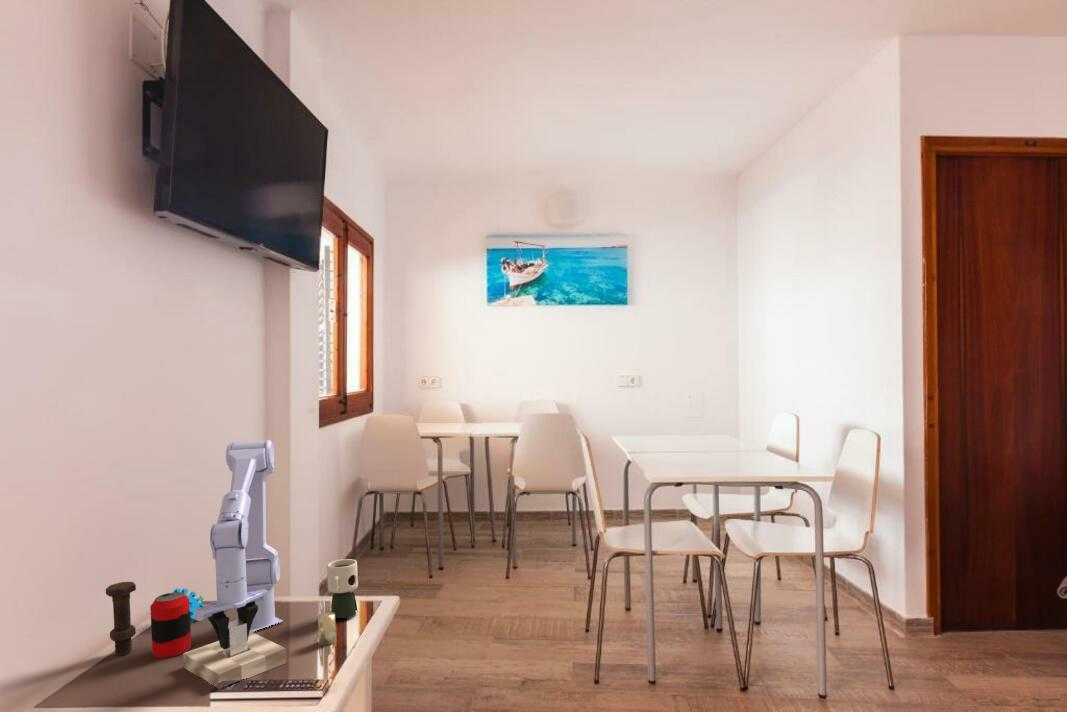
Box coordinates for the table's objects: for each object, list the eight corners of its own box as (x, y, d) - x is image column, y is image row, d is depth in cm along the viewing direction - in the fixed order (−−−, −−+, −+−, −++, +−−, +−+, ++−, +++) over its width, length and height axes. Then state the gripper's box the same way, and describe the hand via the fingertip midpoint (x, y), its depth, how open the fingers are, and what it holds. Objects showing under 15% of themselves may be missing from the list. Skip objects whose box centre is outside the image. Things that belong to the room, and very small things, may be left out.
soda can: (180, 641, 155) (178, 588, 155) (198, 648, 151) (195, 594, 151) (146, 653, 149) (143, 599, 149) (163, 661, 145) (160, 605, 145)
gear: (190, 621, 162) (164, 590, 165) (173, 639, 163) (148, 608, 165) (218, 610, 173) (194, 581, 175) (203, 627, 173) (179, 598, 176)
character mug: (351, 624, 160) (349, 569, 160) (322, 625, 161) (319, 570, 161) (365, 607, 171) (363, 556, 171) (337, 608, 172) (335, 556, 172)
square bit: (222, 653, 141) (221, 625, 141) (239, 647, 144) (238, 619, 144) (230, 658, 139) (229, 628, 139) (247, 652, 141) (246, 623, 141)
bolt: (123, 659, 147) (120, 590, 147) (103, 658, 148) (100, 589, 148) (143, 648, 152) (140, 581, 152) (124, 647, 153) (121, 580, 153)
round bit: (316, 643, 151) (314, 616, 151) (330, 637, 154) (329, 610, 154) (325, 647, 149) (323, 619, 149) (339, 641, 151) (338, 614, 151)
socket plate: (183, 667, 141) (183, 653, 141) (249, 643, 152) (248, 630, 152) (219, 689, 131) (218, 674, 131) (286, 662, 142) (285, 648, 142)
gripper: (204, 592, 133) (207, 661, 133) (274, 572, 144) (276, 636, 144) (188, 585, 138) (191, 652, 138) (257, 566, 149) (260, 629, 149)
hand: (234, 644), depth 141 cm, fingers closed on square bit, 4 cm apart
